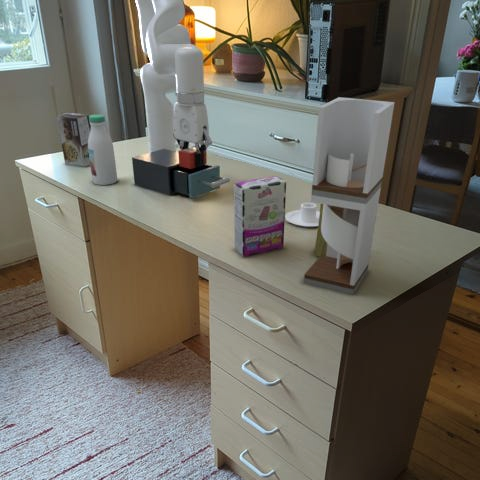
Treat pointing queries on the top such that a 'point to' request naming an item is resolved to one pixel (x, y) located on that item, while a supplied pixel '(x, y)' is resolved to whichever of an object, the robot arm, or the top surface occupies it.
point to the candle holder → (304, 215)
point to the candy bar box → (259, 215)
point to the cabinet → (155, 170)
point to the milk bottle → (101, 152)
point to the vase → (320, 238)
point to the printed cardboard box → (74, 138)
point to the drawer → (196, 180)
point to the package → (189, 158)
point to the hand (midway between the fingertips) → (193, 163)
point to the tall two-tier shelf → (348, 187)
